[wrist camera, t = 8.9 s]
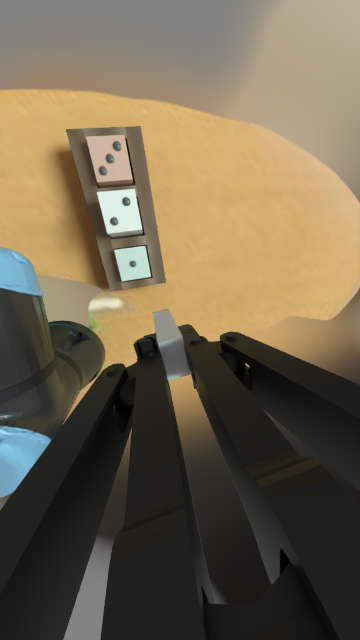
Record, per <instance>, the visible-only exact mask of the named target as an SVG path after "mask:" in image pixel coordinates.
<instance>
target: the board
mask: <svg viewBox="0 0 360 640" xmlns="http://www.w3.org/2000/svg"><path fill="white" fill-rule="evenodd" d="M66 132H67V135H68V139H69V143H70V146H71V150H72V154H73V157H74V161H75V164H76V168H77V172H78V175H79V179H80V182H81V186H82V190H83V193H84V197H85V201H86V204H87V208H88V211H89V215H90V219H91V222H92V226H93V230H94V233H95V237H96V240H97V244H98V248H99V251H100V255H101V258H102V262H103V266H104V269H105V273H106V277H107V280H108V284H109V287H110V291H117V290H123V289H129V288H135V287H141V286H148V285H154V284H160V283H166V280H165V274H164V267H163V261H162V255H161V249H160V243H159V237H158V230H157V224H156V218H155V212H154V206H153V200H152V193H151V187H150V181H149V175H148V169H147V162H146V156H145V150H144V144H143V138H142V132H141V126H136V127H111V128H86V129H66ZM110 135H124V136H125V141H126V147H127V152H128V155H130V160H131V165H132V170H133V176H134V181H135V185H132V186H120V187H109V188H100V186H99V184H98V183H97V179H96V175H95V171H94V167H93V163H92V159H91V155H90V151H89V147H88V143H87V139H86V137H88V136H110ZM128 189H135V193H136V199H137V204H139V208H140V213H141V219H142V224H143V229H144V236H136V237H128V238H119V239H114V238H112V237H111V236H110V235H108V234H107V231H106V227H105V223H104V219H103V215H102V211H101V207H100V203H99V199H98V195H97V192H105V191H116V190H128ZM140 246H145V247H147V251H148V256H149V261H150V267H151V272H152V276H151V277H147V278H141V279H134V280H128V281H122V280H121V276H120V272H119V268H118V264H117V260H116V256H115V252H114V250H117V249H125V248H133V247H140Z"/></svg>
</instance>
